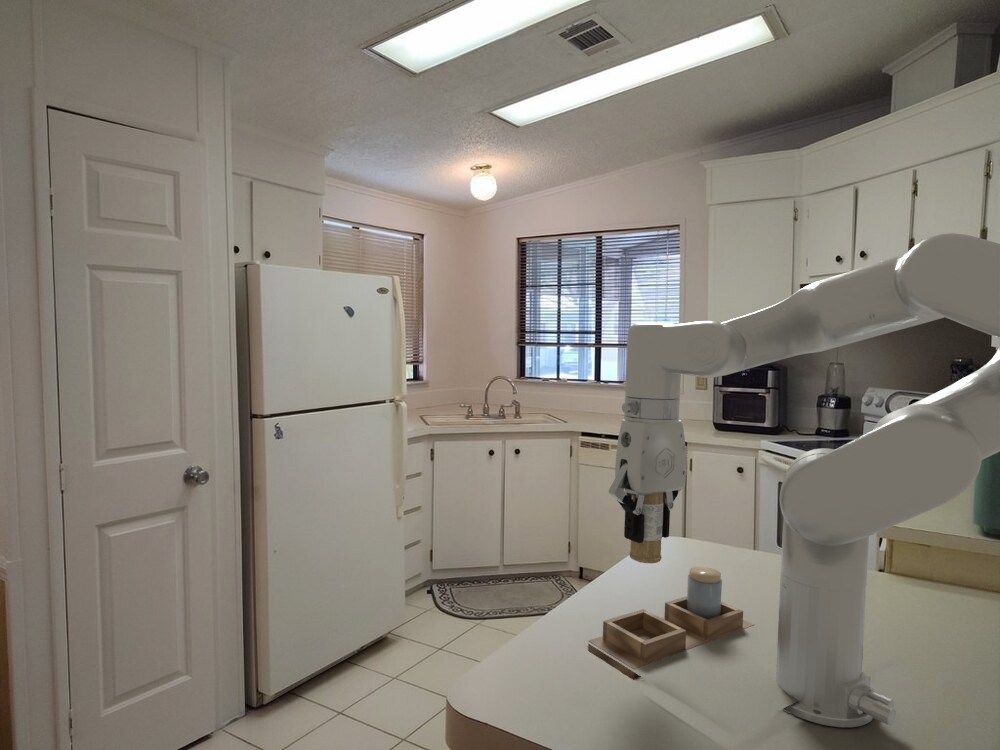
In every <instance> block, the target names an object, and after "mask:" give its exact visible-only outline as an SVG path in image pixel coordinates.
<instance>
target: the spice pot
mask: <svg viewBox="0 0 1000 750" xmlns="http://www.w3.org/2000/svg"><path fill="white" fill-rule="evenodd" d="M688 571H689V573H688V575H687V587H686V588H687V590H686V591H687V592H686V596H687V610H688V611H690V612H692V613H694V614H696V615H698V616H700V617H703V618H705V619H707V620H708V619H711V618H714V617H717V616H720V615H721V602H722V591H723V590H722V587H723V580H722V574H721V572H720V571H719V570H717V569H714V568H711V567H707V566H694V567H693V566H692V567H690V568H689V570H688Z"/></svg>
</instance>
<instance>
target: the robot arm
mask: <svg viewBox="0 0 1000 750" xmlns="http://www.w3.org/2000/svg"><path fill="white" fill-rule="evenodd" d="M944 318H946V319H949V320H951V321H954V322H956V323H959V324H960V325H963V326H966V327H968V328H971V329H973V330H976V331H979V332H982V333H985V334H987V335H990V336H993V337H995V338H998V339H1000V243H997V242H995V241H993V240H987V239H984V238H980V237H977V236H973V235H968V234H964V233H949V232H948V233H941V234H936V235H933V236H930V237H928V238H926V239H923V240H921V241H920V242H919V243H917V244H915V245H914V246H913V247H912V248H911V249H909V250H908V251H907V252H904V253H901V254H897V255H895V256H892V257H891V256H890V257H889V258H885V259H882V260H880V261H878V262H874V263H871V264H868V265H865V266H862V267H858V268H856V269H853V270H850V271H846V272H844V273H839V274H836V275H833V276H830V277H827V278H824V279H821V280H817V281H815V282H813V283H810V284H808V285H805V286H804V287H803V288H800V289H799V290H797V291H796V292H795V293H793V294H791V295H790V296H789V297H787V298H786V299H784V300H782V301H779V302H778V303H776V304H773V305H771V306H768V307H766V308H763V309H760V310H757V311H754V312H751V313H748V314H746V315H743V316H739V317H736V318H733V319H732V318H731V319H729V320H727V321H722V322H718V321H713V320H701V321H693V322H685V323H677V324H675V323H669V322H668V323H667V322H638V323H634V324H632V325H631V326H630V327H629V329H628V331H627V339H626V341H627V342H626V359H625V360H626V363H625V365H626V367H625V393H624V394H625V396H624V402H623V404H622V406H621V411H622V412H623V413H624V415H623V416H624V417H623V419H621V424H620V428H619V434H618V439H617V446H616V455H615V466H614V468H615V470H614V479H613V481H612V483H611V486H610V487H609V489H608V494H609V495H610V496H611V497H612V498H613V499H615V500H617V501H616V502H617V503H618V504H619V505H620V507H621V510H622V511H624V532H623V533H624V534H623V537H624V538H625V539H628V540H629V541H631V540H632V541H634V542H637V543H642V542H643V541H644V519H645V517H644V515H643V514H641V511H642V506H643V501H644V496H645V495H647V494H654V493H661V492H663V525H662V538H665V539H667V538H669V537H670V525H671V524H670V523H671V522H670V521H671V520H670V519H671V510H673V509H674V502H675V500H676V499H677V497H678V495H679V493H680V492H681V491H682V490H683V488H684V487H685V486H686V478H687V476H686V475H687V452H686V451H687V450H686V438H685V431H684V430H685V429H684V425H683V421H682V420H681V419H680V397H681V375H687V376H690V377H691V376H692V377H697V378H704V379H705V378H706V379H710V378H717V377H722V376H728V375H731V374H735V373H739V372H741V371H745V370H748V369H752V368H755V367H759V366H762V365H766V364H770V363H774V362H777V361H781V360H785V359H787V358H792V357H796V356H801V355H806V354H813V353H820V352H824V351H829V350H832V349H834V348H835V349H836V348H839V347H843V346H847V345H850V344H853V343H857V342H861V341H865V340H868V339H871V338H874V337H879V336H882V335H886V334H890V333H893V332H896V331H901V330H904V329H905V330H906V329H907V328H912V327H915V326H919V325H923V324H927V323H930V322H933V321H936V320H941V319H944ZM998 343H999V344H998V348H997V350H996V352H995V354H993V357H992V358H991V359H989V361H988V362H987V363H986V364H984V365H983V366H982V367H980V368H979V369H977V370H976V371H973V372H971V373H970V374H968V375H967V376H965V377H962V378H961V379H959V380H958V381H955V382H953V383H952V384H950V385H949V386H946V387H944V388H943V389H940V390H939V391H937V392H935V393H931V394H930V395H928V396H926V397H924V398H922V399H919V400H918V401H915V402H913V403H912V404H909V405H907V406H904V407H901V408H898V409H896V410H894V411H891V412H890V413H889V412H888V413H887V414H886V415H885V416H883V417H882V418H880V419H879V420H878V421H877V423H876V424H875V425H874V426H873V428H872V430H870V431H868V432H867V433H865V434H862V435H861V436H859V437H857V438H855V439H852V440H850V441H849V442H847V443H845V444H843V445H841V446H839V447H837V448H835V449H834V448H829V447H828V448H823V447H822V448H813V449H811V450H808V451H806V452H804V453H802V454H800V455H799V456H797V457H796V458H795V459H794V460H793V461H792V462H791V463H790V465H789V467H788V468H787V470H786V472H785V475H784V477H783V481H782V484H781V486H780V491H779V507H780V511H781V514H782V517H783V519H782V521H783V522H782V539H781V542H782V543H781V556H780V557H781V559H780V560H781V561H780V579H779V581H780V582H779V601H778V602H779V603H778V623H777V625H778V626H777V642H776V643H777V644H776V645H777V646H776V664H775V665H776V668H775V681H776V683H777V686H779V688H780V689H781V690H782V691H784V692H785V693H786V694H787V695H788V696H790V697H792V698H794V699H795V700H797V701H795V702H793V703H792V704H789V705H788V706H786V707H784V708H782V710H784V711H786V712H787V713H789V714H792V715H794V716H796V717H797V718H800V719H803V720H806V721H808V722H811V723H815V724H818V725H823V726H828V727H835V728H856V727H857V728H858V727H862V726H864V725H866V724H868V723H870V722H872V721H873V719H874V720H877V721H879V722H881V723H883V724H884V725H886V726H889V727H890V726H892V725H893V724H894V723H895V721H896V716H897V713H896V709H895V708H894V705H895V700H894V699H893V698H890V697H888V696H885V695H884V694H881V693H878V692H875V691H874V689H873V688H872V687H871V682H872V681H871V680H872V676H871V674H868V673H865V672H864V671H863V659H864V658H863V657H864V641H865V640H864V639H865V636H864V635H865V619H866V618H865V617H866V600H867V598H866V597H867V584H868V568H869V567H868V564H869V562H868V561H869V537H870V536H872V535H875V534H878V533H880V532H883V531H884V530H886V529H890V528H892V527H894V526H896V525H899V524H901V523H904V522H907V521H909V520H911V519H913V518H915V517H918V516H921V515H923V514H925V513H928V512H930V511H932V510H934V509H936V508H938V507H940V506H943V505H945V504H947V503H949V502H951V501H952V500H954V499H956V498H958V497H959V496H960V495H961V494H963V493H964V492H966V491H968V489H969V488H970V487H971V486H972V484H973V483H974V482H975V481H976V479H977V477H978V475H979V473H980V470H981V468H982V467H981V466H982V461H983V460H984V459H987V458H989V457H991V456H993V455H995V454H998V453H999V452H1000V342H998ZM633 494H634V495H636V497H635V502H634V501H633V500H632V497H633Z"/></svg>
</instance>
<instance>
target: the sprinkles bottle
mask: <svg viewBox="0 0 1000 750" xmlns="http://www.w3.org/2000/svg"><path fill="white" fill-rule="evenodd" d="M635 497H636V495H634V494H633V495H632V500H633V501H634V502H635ZM641 514H643V515H644V517H645V519H644V541H643V542H642V543H637V542H634V541H632V540H630V551H629V555H628V556H629V557H630V559H631V560H633V561H636V562H639V563H642V564H658V563H660V561H661V560H662V538H663V537H662V525H663V492H661V493H654V494H647V495H645V496H644V501H643V506H642V511H641Z"/></svg>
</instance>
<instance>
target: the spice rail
mask: <svg viewBox="0 0 1000 750" xmlns="http://www.w3.org/2000/svg"><path fill="white" fill-rule="evenodd" d="M602 624H603V625H602V636H599V637H595V638H593V639H589V640H588V642H589V643H587V644H588V645H587V651H588V652H589V653H591V654H593V655H594V656H596V657H598V658H599V659H600V660H602V661H604V662H605V663H606V664H608V665H609V666H611V667H612V668H614V669H615V670H617V671H619V672H621V673H622V674H624V675H625V676H627V677H628V678H630V679H631V680H632V681H635V680H637V679H640V678H642V676H641V675H639V674H637V673H636V672H634V671H633V670H636V669H638V668H640V667H643V666H646V665H650V664H652V663H655V662H657V661H660V660H663V659H666V658H668V657H671V656H673V655H676V654H680V653H682V652H684V651H687V650H691V649H693V648H695V647H698V646H701V645H704V644H706V643H709V642H711V641H715V640H718V639H720V638H722V637H726V636H728V635H730V634H733V633H737V632H739V631H742V630H745V629H747V628H748V629H749V628H750V627H753V626H755V624H754V623H752V622H749V621H747V620H745V619H744V610H741V609H739V608H736V607H735V606H732V605H730V604H727V603H725V602H723V601H721V615H720V616H717V617H714V618H711V619H708V620H707V619H705V618H703V617H700V616H698V615H696V614H694V613H692V612H690V611H688V610H687V595H686V596H683V597H680V598H676V599H674V600H670V601H667V602H664V616H662V617H660V616H658V615H656V614H654V613H652V612H650V611H648V610H646V609H644V608H642V609H639V610H636V611H632V612H628V613H626V614H623V615H619V616H616V617H612V618H609V619H605V620H603V621H602ZM590 643H591V644H590ZM592 644H593V645H594V646H593V645H592ZM595 646H596V647H598V648H596V647H595ZM600 649H601V650H602V651H601V650H600ZM603 651H604V652H606V653H607V654H606V653H604V652H603ZM608 654H609V655H611V656H612V657H614V658H615V659H614V658H612V657H610V656H609V655H608ZM616 659H617V660H619V661H620V662H621V663H620V662H619V661H617V660H616ZM622 663H623V664H624V665H623V664H622ZM625 665H626V666H625ZM627 666H628V667H629V668H628V667H627ZM630 668H631V669H630ZM632 669H633V670H632Z"/></svg>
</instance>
